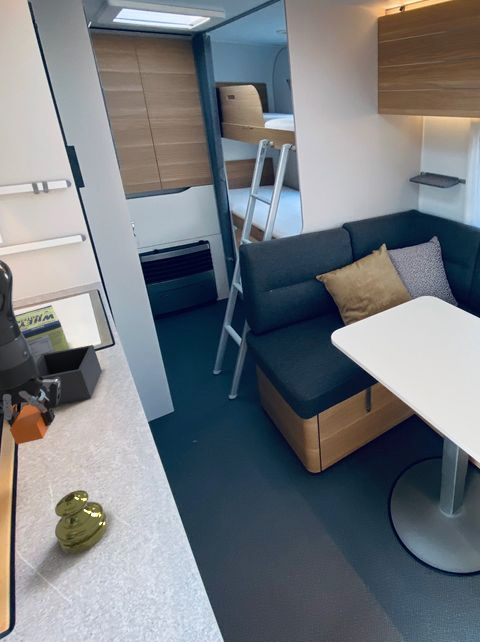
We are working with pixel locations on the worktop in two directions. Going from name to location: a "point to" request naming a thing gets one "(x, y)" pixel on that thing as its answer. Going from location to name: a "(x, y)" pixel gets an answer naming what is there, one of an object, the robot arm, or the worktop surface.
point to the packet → (28, 425)
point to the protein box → (42, 331)
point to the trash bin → (71, 372)
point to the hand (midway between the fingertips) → (35, 426)
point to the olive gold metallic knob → (79, 522)
